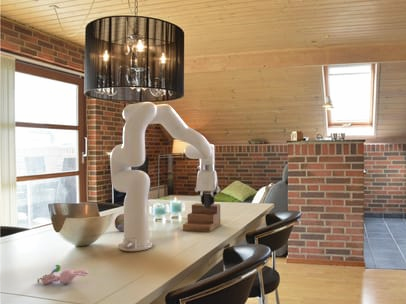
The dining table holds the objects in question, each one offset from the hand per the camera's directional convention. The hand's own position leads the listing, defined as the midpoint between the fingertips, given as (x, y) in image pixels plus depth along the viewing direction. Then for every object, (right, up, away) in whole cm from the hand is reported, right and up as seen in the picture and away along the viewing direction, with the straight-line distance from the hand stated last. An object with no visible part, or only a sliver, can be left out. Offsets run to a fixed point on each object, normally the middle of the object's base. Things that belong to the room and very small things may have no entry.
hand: (207, 203), depth 176 cm
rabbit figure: (-37, -13, -72) cm, 82 cm away
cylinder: (0, -2, 0) cm, 2 cm away
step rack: (-3, -12, +1) cm, 13 cm away
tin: (-40, -13, -1) cm, 42 cm away
